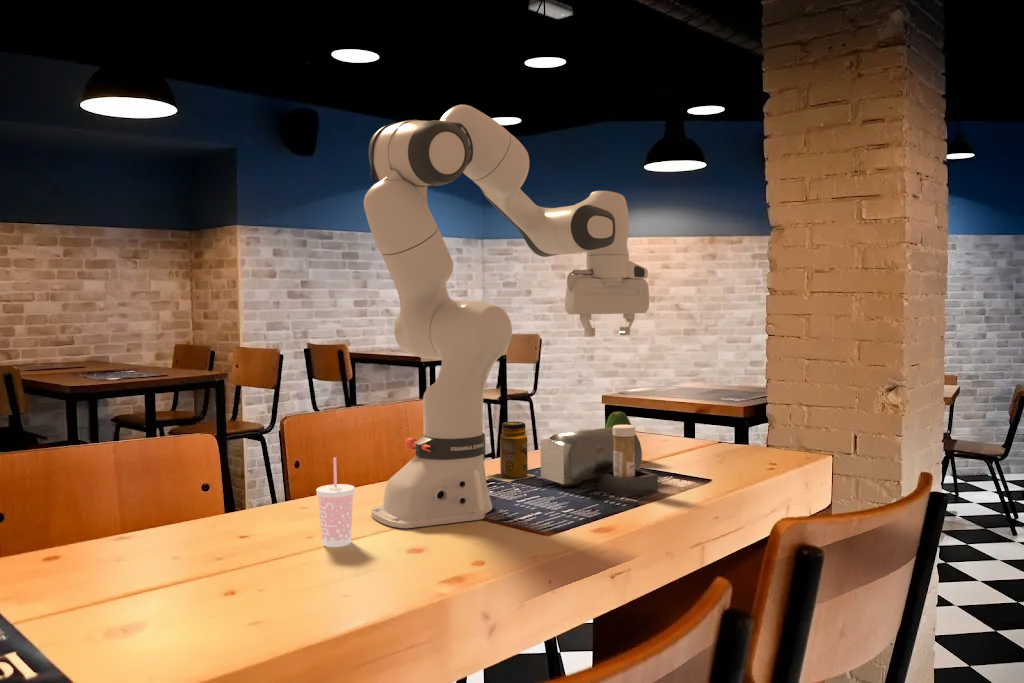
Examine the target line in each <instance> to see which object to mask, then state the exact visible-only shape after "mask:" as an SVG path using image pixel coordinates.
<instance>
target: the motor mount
mask: <svg viewBox="0 0 1024 683" xmlns="http://www.w3.org/2000/svg"><path fill="white" fill-rule="evenodd" d="M613 436H614V435H613V427H610V428H606V427H603V428H595V429H588V430H587V429H586V430H581V431H572V432H564V433H556V434H553V435H551V436H550V437H549V438H545V439H540V478H542V479H545V480H548V481H551V482H553V484H554V485H556V486H557V487H559V488H560V487H561V488H567V487H573V486H575V487H577V488H581V489H586V488H593V487H597V490H598V491H601V492H605V493H608V494H612V495H616V496H619V497H622V498H624V499H625V498H626V499H627V498H632V497H637V496H642V495H647V494H652V493H658V488H659V487H658V484H659V483H658V482H659V481H658V478H659V477H658V476H659V475H658V474H656V473H652V472H649V471H645V470H640V467H641V464H642V459H643V451H642V446H641V445H642V444H641V442H640V440H639V437H638V436H637V434H636V433H635V437H634V447H635V448H634V452H635V477H633V478H627V479H626V478H622V477H618V476H614V468H613V450H614V438H613Z"/></svg>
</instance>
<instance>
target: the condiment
mask: <svg viewBox="0 0 1024 683" xmlns="http://www.w3.org/2000/svg"><path fill="white" fill-rule="evenodd" d="M526 432H527V430H526V423H525V422H523V421H504V422H502V424H501V434H500V440H499V445H500V447H499V450H500V451H499V452H500V453H499V455H500V466H499V467H500V473H495V474H489V475H485V476H486V478H487V477H488V478H489V479H493V480H496V481H502V482H507V483H510V482H515V481H519V480H525V479H528V478H533V477H535V476H537V475H535V474H529V473H528V468H529V467H528V466H529V465H528V463H529V462H528V460H529V459H528V435H527V434H526Z"/></svg>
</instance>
